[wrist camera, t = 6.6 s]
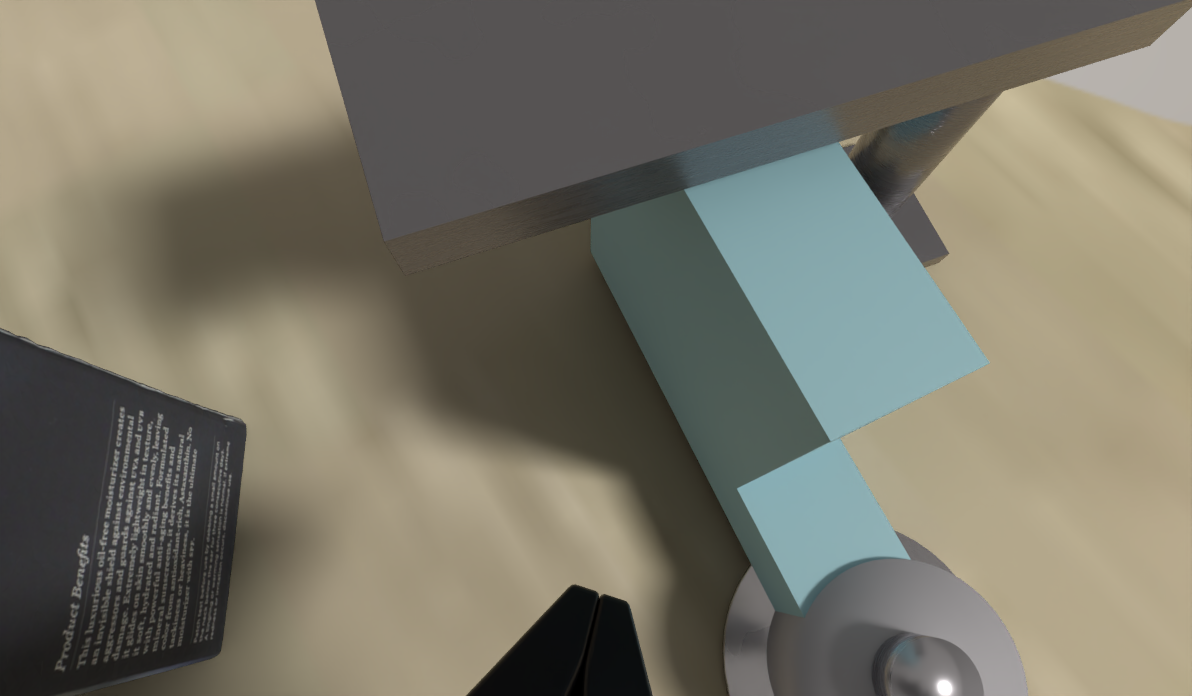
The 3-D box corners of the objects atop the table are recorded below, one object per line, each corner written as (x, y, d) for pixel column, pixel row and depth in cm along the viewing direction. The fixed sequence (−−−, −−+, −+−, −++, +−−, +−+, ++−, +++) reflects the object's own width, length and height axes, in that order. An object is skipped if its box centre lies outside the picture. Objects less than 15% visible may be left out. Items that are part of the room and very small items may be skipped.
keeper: (495, 421, 18) (384, 240, 8) (448, 274, 19) (304, -36, 9) (941, 268, 20) (1309, -37, 10) (869, 143, 21) (1125, -236, 11)
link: (1001, 714, 16) (1426, 866, 8) (832, 814, 15) (1111, 1095, 7) (701, 205, 20) (778, -30, 12) (560, 263, 19) (543, 54, 11)
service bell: (793, 868, 15) (862, 968, 11) (681, 574, 17) (709, 576, 13) (1046, 752, 16) (1188, 809, 12) (910, 484, 18) (997, 463, 14)
